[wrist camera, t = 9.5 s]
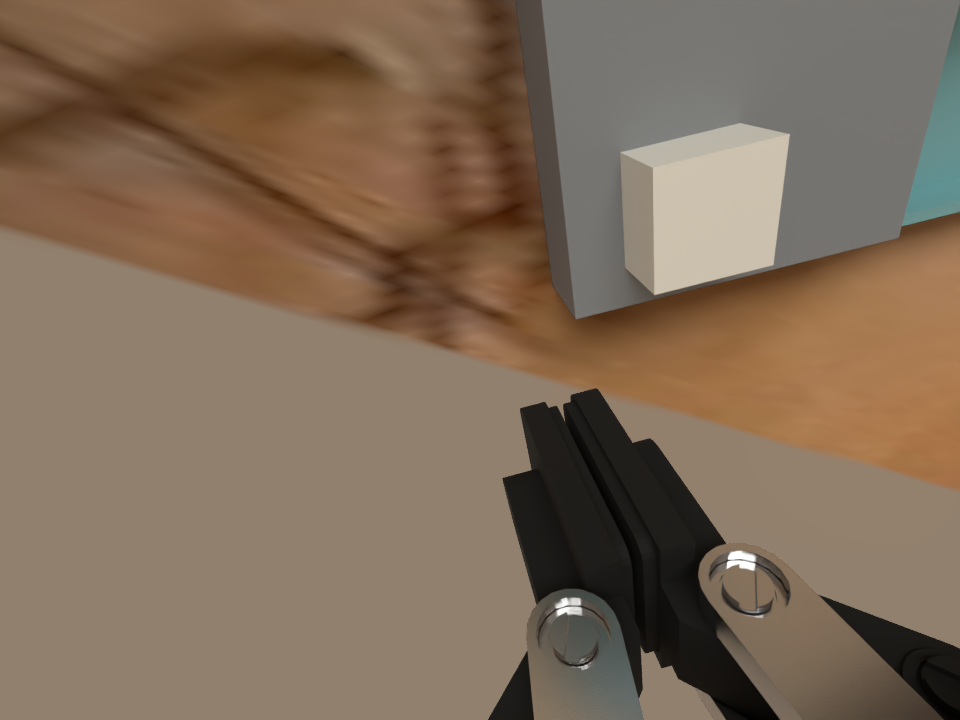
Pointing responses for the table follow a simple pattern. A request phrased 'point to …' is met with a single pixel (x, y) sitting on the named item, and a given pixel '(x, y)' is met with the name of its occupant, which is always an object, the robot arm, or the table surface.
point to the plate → (727, 115)
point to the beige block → (702, 205)
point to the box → (940, 146)
